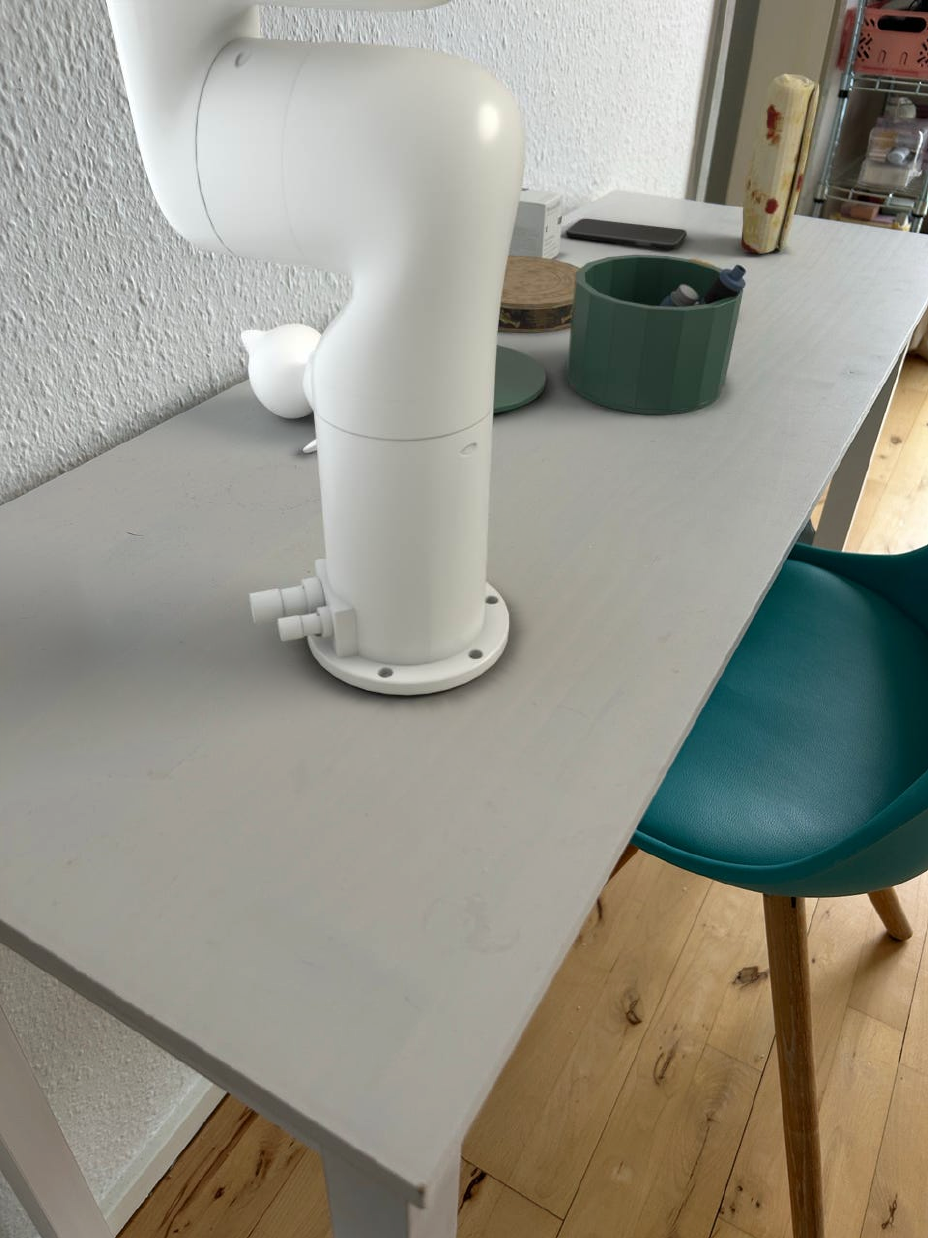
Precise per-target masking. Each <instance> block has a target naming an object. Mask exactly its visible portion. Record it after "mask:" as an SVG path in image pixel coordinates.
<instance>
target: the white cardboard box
mask: <svg viewBox="0 0 928 1238" xmlns="http://www.w3.org/2000/svg"><path fill="white" fill-rule="evenodd" d="M563 203H564V194H563V193H561V192H557V191H547V190H541V189H540V190H539V189H533V188H524V187H522V189H521V195H520V200H519V204H518V209H517V214H516V219H515V224H514V229H513V234H512V239H511V244H510V249H509V254H508V256H531V257H539V258H547V259H554V258H556V257H557V256H559V254H560V249H561V248H560V247H561V246H560V245H561V233H562V219H563Z"/></svg>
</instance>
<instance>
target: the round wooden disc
mask: <svg viewBox="0 0 928 1238" xmlns="http://www.w3.org/2000/svg"><path fill="white" fill-rule="evenodd" d="M580 268H581V267H579V266H577V265H574V264H572V263H568V262H566V261H565V262H564V261H561V260H557V259H554V258H552V259H547V258H539V257H531V256H508V259H507V264H506V270H505V276H504V283H503V289H502V296H501V303H500V313H499V323H498V331H500V332H507V333H529V334H531V333H533V334H535V333H545V332H555V331H560V330H564V329H567V328H571V320H572V309H573V298H574V287H575V276H576V272H577V271H578V270H579V269H580Z"/></svg>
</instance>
